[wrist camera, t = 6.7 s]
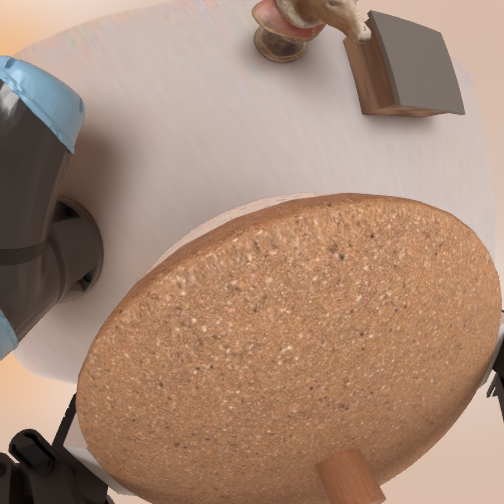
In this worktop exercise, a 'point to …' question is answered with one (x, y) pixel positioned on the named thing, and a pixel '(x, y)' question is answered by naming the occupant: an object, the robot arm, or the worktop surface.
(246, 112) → the worktop surface
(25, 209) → the robot arm
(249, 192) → the worktop surface
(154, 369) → the lidded jar
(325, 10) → the decorative bust
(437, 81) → the block
